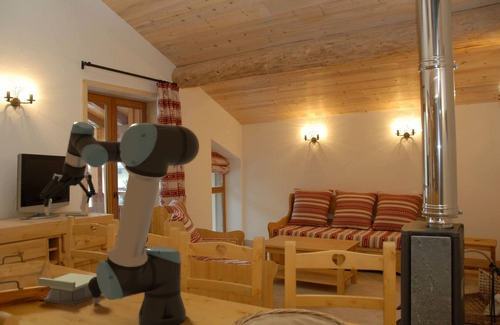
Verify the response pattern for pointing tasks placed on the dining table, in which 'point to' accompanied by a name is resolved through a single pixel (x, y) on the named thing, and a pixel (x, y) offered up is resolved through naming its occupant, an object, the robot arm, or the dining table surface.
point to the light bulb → (94, 290)
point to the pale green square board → (67, 282)
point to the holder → (68, 296)
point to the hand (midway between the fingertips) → (64, 211)
